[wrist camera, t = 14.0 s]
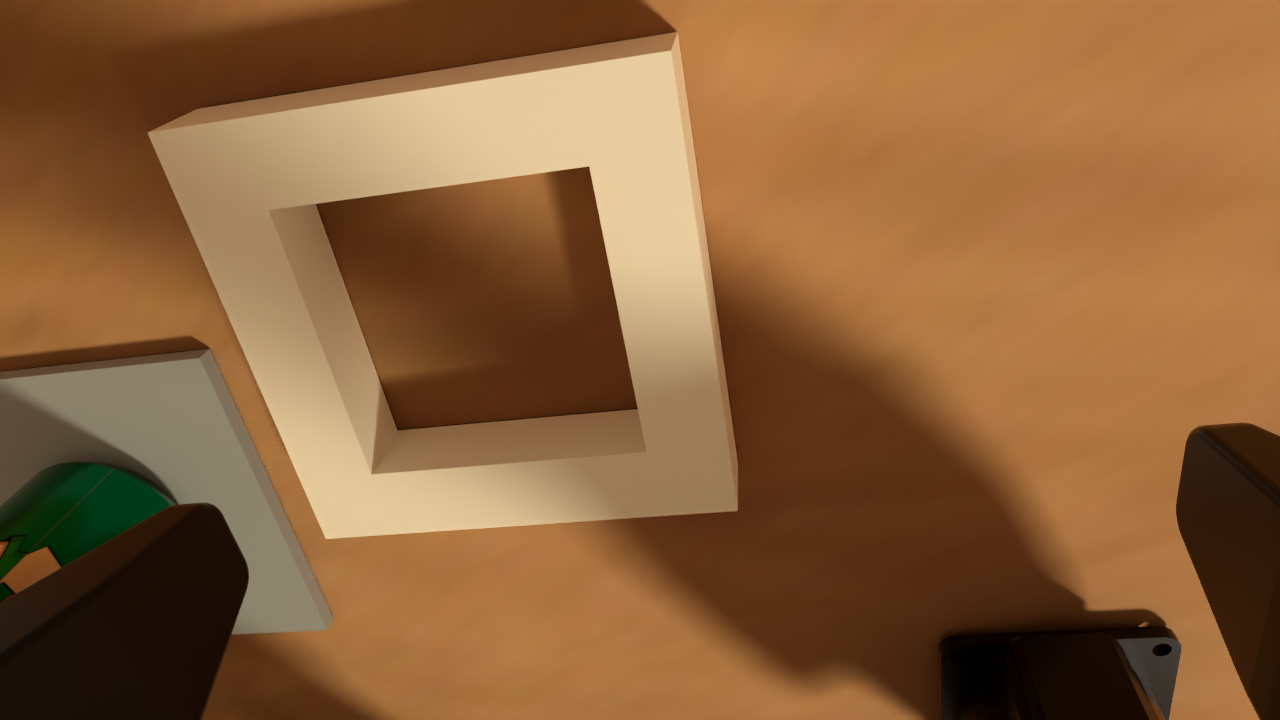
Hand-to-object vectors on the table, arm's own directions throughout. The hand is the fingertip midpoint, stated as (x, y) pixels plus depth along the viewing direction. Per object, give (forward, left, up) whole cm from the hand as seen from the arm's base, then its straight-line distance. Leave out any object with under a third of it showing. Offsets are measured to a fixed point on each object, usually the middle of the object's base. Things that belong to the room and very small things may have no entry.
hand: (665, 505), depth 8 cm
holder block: (-4, +6, -13) cm, 15 cm away
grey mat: (-9, +19, -13) cm, 25 cm away
